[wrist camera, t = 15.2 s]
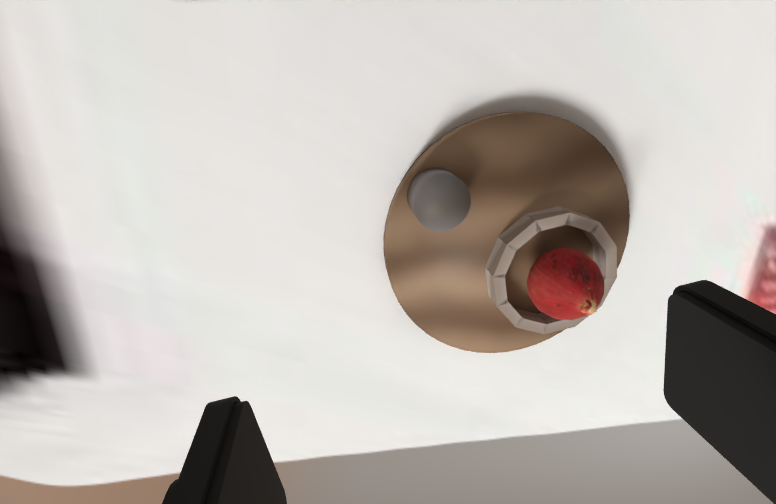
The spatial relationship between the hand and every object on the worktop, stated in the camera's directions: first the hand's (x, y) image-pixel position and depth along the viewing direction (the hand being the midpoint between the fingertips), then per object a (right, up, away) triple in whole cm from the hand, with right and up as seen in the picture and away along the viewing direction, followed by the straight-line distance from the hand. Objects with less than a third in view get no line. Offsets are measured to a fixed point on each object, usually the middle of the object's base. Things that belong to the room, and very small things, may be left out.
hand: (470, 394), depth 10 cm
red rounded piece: (+12, +2, +30) cm, 33 cm away
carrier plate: (+9, +4, +30) cm, 32 cm away
